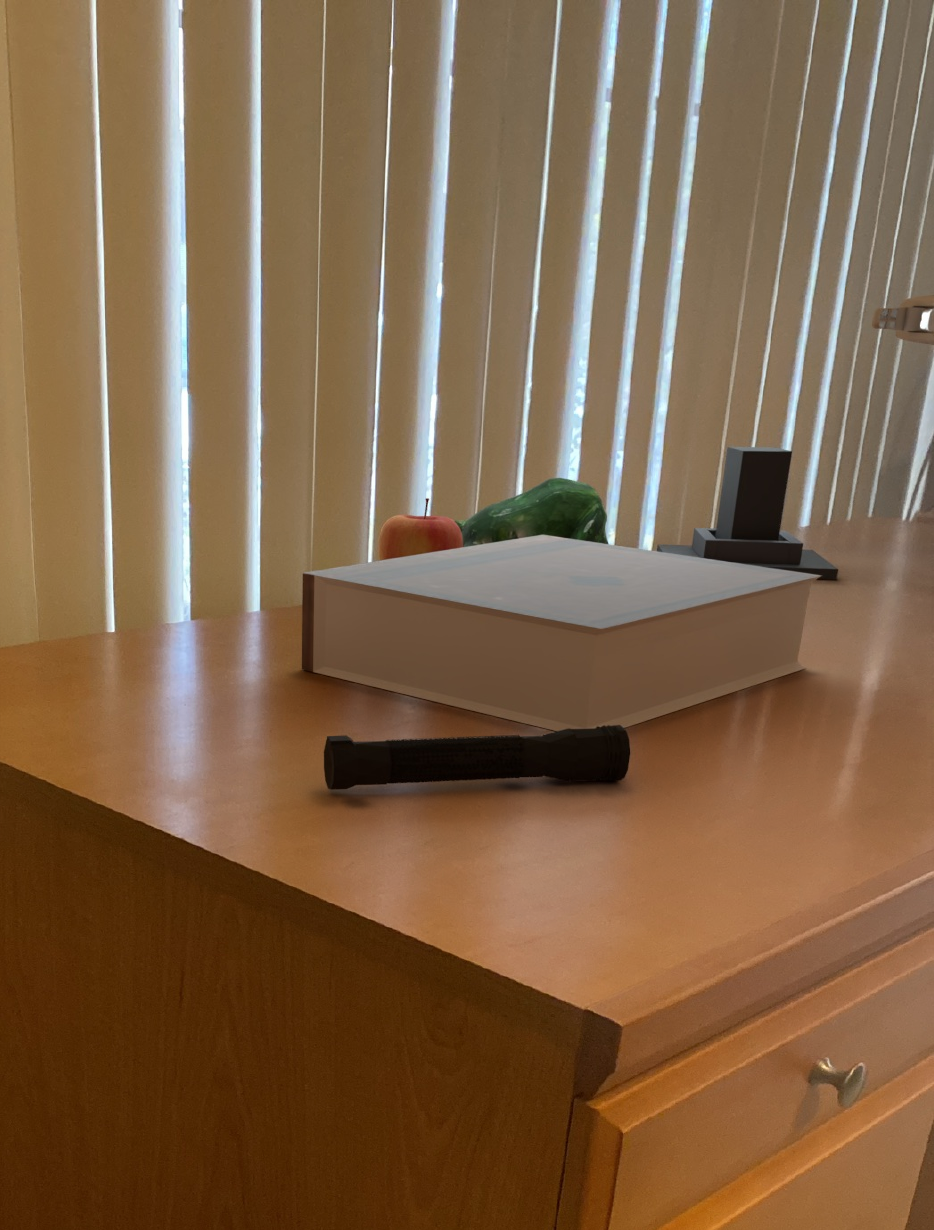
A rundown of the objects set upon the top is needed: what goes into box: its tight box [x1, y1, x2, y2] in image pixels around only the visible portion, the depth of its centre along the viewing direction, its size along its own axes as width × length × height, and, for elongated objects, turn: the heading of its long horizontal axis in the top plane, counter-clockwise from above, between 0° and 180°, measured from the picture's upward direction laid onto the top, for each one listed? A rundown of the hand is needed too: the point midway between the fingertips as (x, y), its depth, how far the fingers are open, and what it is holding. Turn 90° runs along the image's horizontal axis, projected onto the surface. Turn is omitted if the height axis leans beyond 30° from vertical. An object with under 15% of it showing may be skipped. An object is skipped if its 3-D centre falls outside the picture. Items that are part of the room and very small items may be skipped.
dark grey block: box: [715, 446, 793, 541], centre depth 143 cm, size 5×4×10 cm
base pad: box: [656, 527, 839, 581], centre depth 146 cm, size 16×12×3 cm
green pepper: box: [453, 477, 609, 547], centre depth 136 cm, size 14×9×15 cm
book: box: [301, 535, 822, 732], centre depth 103 cm, size 24×28×6 cm
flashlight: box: [323, 725, 632, 791], centre depth 79 cm, size 3×16×3 cm, turn 102°
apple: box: [377, 497, 463, 561], centre depth 126 cm, size 7×7×8 cm
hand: (899, 319), depth 138 cm, fingers open, 8 cm apart
